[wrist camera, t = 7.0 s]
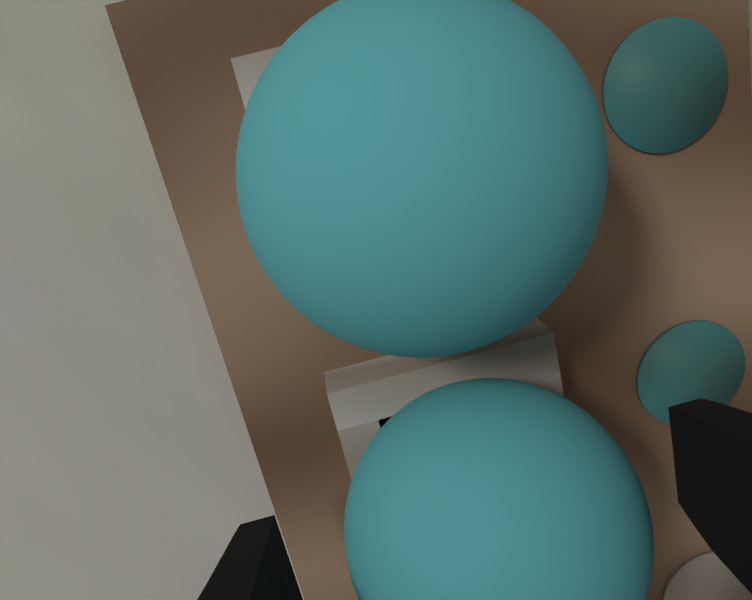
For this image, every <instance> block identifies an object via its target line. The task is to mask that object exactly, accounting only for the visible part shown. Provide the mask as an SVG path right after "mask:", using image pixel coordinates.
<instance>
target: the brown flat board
mask: <svg viewBox="0 0 752 600" xmlns="http://www.w3.org/2000/svg"><path fill="white" fill-rule="evenodd" d="M336 1H338V0H125V1H121V2H117V3H113V4H109V5H105V7H106V10H107V13H108V16H109V19H110V22H111V25H112V28H113V31H114V34H115V37H116V40H117V43H118V46H119V49H120V52H121V55H122V57H123V60H124V63H125V66H126V69H127V72H128V75H129V78H130V81H131V84H132V87H133V90H134V93H135V96H136V99H137V102H138V105H139V108H140V111H141V114H142V117H143V120H144V123H145V126H146V129H147V132H148V135H149V138H150V141H151V144H152V147H153V150H154V153H155V156H156V159H157V162H158V165H159V168H160V170H161V173H162V176H163V179H164V182H165V185H166V188H167V191H168V194H169V197H170V200H171V203H172V206H173V209H174V212H175V215H176V218H177V221H178V224H179V227H180V230H181V233H182V236H183V239H184V242H185V245H186V248H187V251H188V254H189V257H190V260H191V263H192V266H193V269H194V272H195V275H196V278H197V280H198V283H199V286H200V289H201V292H202V295H203V298H204V301H205V304H206V307H207V310H208V313H209V316H210V319H211V322H212V325H213V328H214V331H215V334H216V337H217V340H218V343H219V346H220V349H221V352H222V355H223V358H224V361H225V364H226V367H227V370H228V373H229V376H230V379H231V382H232V385H233V388H234V391H235V393H236V396H237V399H238V402H239V405H240V408H241V411H242V414H243V417H244V420H245V423H246V426H247V429H248V432H249V435H250V438H251V441H252V444H253V447H254V450H255V453H256V456H257V459H258V462H259V465H260V468H261V471H262V474H263V477H264V480H265V483H266V486H267V489H268V492H269V495H270V498H271V501H272V503H273V506H274V509H275V512H276V515H277V518H278V521H279V524H280V527H281V530H282V533H283V536H284V539H285V542H286V545H287V548H288V551H289V554H290V557H291V560H292V563H293V566H294V569H295V572H296V575H297V578H298V581H299V584H300V587H301V590H302V593H303V596H304V599H305V600H359V599H358V597H357V594H356V591H355V589H354V586H353V584H352V581H351V577H350V572H349V568H348V563H347V558H346V554H345V541H344V518H345V507H346V502H347V497H348V493H349V489H350V485H351V481H352V478H353V475H354V473H355V470H356V468H357V465H358V463H359V461H360V459H361V457H362V455H363V453H364V452H365V450H366V448H367V446H368V445H369V443H370V441H371V440H372V439H373V437H374V436H375V435H376V433H377V432H378V431H379V429H380V428H381V427H382V426H383V425H384V424H385V423H386V422H387V421H388V420H389V419H390V418H391V417H392V416H393V415H394V414H395V413H397V412H398V411H399V410H400V409H402V408H403V407H404V406H405V405H407V404H408V403H410V402H411V401H413V400H414V399H416V398H418V397H419V396H421V395H423V394H425V393H427V392H429V391H431V390H433V389H436V388H438V387H441V386H444V385H447V384H450V383H455V382H459V381H464V380H470V379H480V378H504V379H511V380H517V381H522V382H526V383H530V384H533V385H537V386H540V387H543V388H546V389H548V390H550V391H553V392H555V393H557V394H559V395H561V396H563V397H565V398H566V399H568V400H570V401H572V402H573V403H575V404H576V405H578V406H579V407H581V408H582V409H584V410H585V411H586V412H588V413H589V414H590V415H591V416H592V417H593V418H594V419H595V420H597V421H598V422H599V423H600V424H601V425H602V426H603V427H604V428H605V429H606V430H607V431H608V432H609V433H610V434H611V436H612V437H613V438H614V439H615V440H616V442H617V443H618V444H619V446H620V447H621V448H622V450H623V451H624V452H625V454H626V455H627V457H628V459H629V460H630V462H631V464H632V466H633V467H634V469H635V471H636V473H637V475H638V478H639V480H640V482H641V484H642V487H643V490H644V492H645V495H646V498H647V502H648V506H649V510H650V514H651V519H652V524H653V538H654V563H653V572H652V578H651V584H650V588H649V592H648V596H647V599H646V600H752V594H751V593H750V592H749V591H748V590H747V589H746V588H745V587H744V585H743V584H742V583H741V582H740V581H739V580H738V579H737V578H736V577H735V576H734V574H733V573H732V572H731V571H730V570H729V569H728V568H727V567H726V566H725V565H724V563H723V562H722V561H721V560H720V559H719V558H718V557H717V556H716V554H715V553H714V552H713V551H712V550H711V548H710V547H709V546H708V544H707V543H706V542H705V540H704V539H703V538H702V536H701V535H700V533H699V532H698V531H697V529H696V528H695V526H694V525H693V524H692V522H691V521H690V519H689V518H688V516H687V515H686V513H685V512H684V510H683V509H682V507H681V506H680V504H679V503H678V496H677V486H676V477H675V467H674V457H673V448H672V438H671V428H670V419H669V409H668V407H671V406H674V405H678V404H681V403H685V402H689V401H692V400H696V399H700V398H702V399H706V400H710V401H714V402H718V403H721V404H725V405H728V406H731V407H734V408H737V409H741V410H744V411H747V412H750V413H752V96H751V75H750V55H749V35H748V15H747V0H510V1H512V2H514V3H516V4H517V5H519V6H520V7H522V8H523V9H525V10H527V11H528V12H530V13H531V14H533V15H534V16H535V17H536V18H538V19H539V20H540V21H541V22H542V23H543V24H545V25H546V26H547V27H548V28H549V29H550V30H552V31H553V33H554V34H555V35H556V36H557V37H558V38H559V39H560V41H561V42H562V43H563V44H564V45H565V46H566V47H567V48H568V50H569V51H570V53H571V54H572V55H573V57H574V59H575V60H576V62H577V63H578V65H579V66H580V68H581V69H582V71H583V72H584V74H585V76H586V78H587V80H588V82H589V84H590V86H591V88H592V90H593V92H594V94H595V97H596V100H597V103H598V106H599V109H600V112H601V115H602V118H603V123H604V128H605V134H606V139H607V150H608V179H607V191H606V197H605V202H604V207H603V212H602V216H601V220H600V223H599V226H598V229H597V232H596V235H595V238H594V240H593V242H592V244H591V246H590V249H589V251H588V253H587V255H586V257H585V259H584V261H583V262H582V264H581V265H580V267H579V269H578V270H577V272H576V274H575V275H574V277H573V278H572V279H571V281H570V282H569V283H568V284H567V286H566V287H565V288H564V290H563V291H562V292H561V293H560V294H559V295H558V296H557V297H556V299H555V300H554V301H553V302H552V303H551V304H550V305H549V306H548V307H547V308H546V309H545V310H543V311H542V312H541V313H540V314H538V315H537V316H536V317H535V318H533V319H532V320H531V321H530V322H528V323H527V324H525V325H524V326H522V327H520V328H519V329H517V330H516V331H514V332H512V333H511V334H509V335H507V336H505V337H503V338H501V339H499V340H496V341H494V342H492V343H490V344H488V345H485V346H482V347H479V348H476V349H473V350H470V351H467V352H463V353H458V354H453V355H448V356H441V357H429V358H413V357H398V356H392V355H387V354H381V353H377V352H373V351H370V350H367V349H364V348H360V347H357V346H354V345H351V344H349V343H347V342H345V341H343V340H340V339H338V338H336V337H334V336H332V335H330V334H329V333H327V332H325V331H324V330H322V329H321V328H319V327H317V326H316V325H314V324H313V323H312V322H310V321H309V320H308V319H307V318H305V317H304V316H303V315H302V314H301V313H299V312H298V311H297V310H296V309H295V308H294V307H293V306H292V305H291V304H290V303H289V302H288V301H287V300H286V299H285V298H284V297H283V295H282V294H281V293H280V292H279V291H278V290H277V289H276V287H275V286H274V284H273V283H272V282H271V280H270V279H269V277H268V276H267V275H266V273H265V272H264V270H263V269H262V267H261V265H260V263H259V261H258V259H257V258H256V256H255V254H254V252H253V250H252V248H251V245H250V243H249V240H248V237H247V235H246V232H245V229H244V227H243V222H242V218H241V214H240V210H239V205H238V198H237V188H236V152H237V145H238V139H239V133H240V127H241V123H242V120H243V117H244V114H245V110H246V107H247V104H248V101H249V99H250V96H251V94H252V92H253V90H254V88H255V86H256V83H257V81H258V79H259V77H260V76H261V74H262V73H263V71H264V69H265V68H266V66H267V65H268V63H269V62H270V60H271V58H272V57H273V56H274V54H275V53H276V52H277V51H278V50H279V48H280V47H281V46H282V45H283V44H284V43H285V41H286V40H287V39H288V38H289V37H290V36H291V35H292V34H293V33H294V32H295V31H296V30H297V29H299V28H300V27H301V26H302V25H303V24H304V23H305V22H306V21H307V20H309V19H310V18H311V17H313V16H314V15H316V14H317V13H319V12H320V11H322V10H323V9H325V8H326V7H328V6H329V5H331V4H332V3H334V2H336Z"/></svg>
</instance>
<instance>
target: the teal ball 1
mask: <svg viewBox="0 0 752 600" xmlns="http://www.w3.org/2000/svg"><path fill="white" fill-rule="evenodd" d="M607 179H608V150H607V139H606V134H605V128H604V123H603V118H602V115H601V112H600V109H599V106H598V103H597V100H596V97H595V94H594V92H593V90H592V88H591V86H590V84H589V82H588V80H587V78H586V76H585V74H584V72H583V71H582V69H581V68H580V66H579V65H578V63H577V62H576V60H575V59H574V57H573V55H572V54H571V53H570V51H569V50H568V48H567V47H566V46H565V45H564V44H563V43H562V42H561V41H560V39H559V38H558V37H557V36H556V35H555V34H554V33H553V31H552V30H550V29H549V28H548V27H547V26H546V25H545V24H543V23H542V22H541V21H540V20H539V19H538V18H536V17H535V16H534V15H533V14H531V13H530V12H528V11H527V10H525V9H523V8H522V7H520V6H519V5H517V4H516V3H514V2H512V1H510V0H338V1H336V2H334V3H332V4H331V5H329V6H328V7H326V8H325V9H323V10H322V11H320V12H319V13H317V14H316V15H314V16H313V17H311V18H310V19H309V20H307V21H306V22H305V23H304V24H303V25H302V26H301V27H300V28H299V29H297V30H296V31H295V32H294V33H293V34H292V35H291V36H290V37H289V38H288V39H287V40H286V41H285V43H284V44H283V45H282V46H281V47H280V48H279V50H278V51H277V52H276V53H275V54H274V56H273V57H272V58H271V60H270V62H269V63H268V65H267V66H266V68H265V69H264V71H263V73H262V74H261V76H260V77H259V79H258V81H257V83H256V86H255V88H254V90H253V92H252V94H251V96H250V99H249V101H248V104H247V107H246V110H245V114H244V117H243V120H242V123H241V127H240V133H239V139H238V145H237V152H236V188H237V198H238V205H239V210H240V214H241V218H242V222H243V227H244V229H245V232H246V235H247V237H248V240H249V243H250V245H251V248H252V250H253V252H254V254H255V256H256V258H257V259H258V261H259V263H260V265H261V267H262V269H263V270H264V272H265V273H266V275H267V276H268V277H269V279H270V280H271V282H272V283H273V284H274V286H275V287H276V289H277V290H278V291H279V292H280V293H281V294H282V295H283V297H284V298H285V299H286V300H287V301H288V302H289V303H290V304H291V305H292V306H293V307H294V308H295V309H296V310H297V311H298V312H299V313H301V314H302V315H303V316H304V317H305V318H307V319H308V320H309V321H310V322H312V323H313V324H314V325H316V326H317V327H319V328H321V329H322V330H324V331H325V332H327V333H329V334H330V335H332V336H334V337H336V338H338V339H340V340H343V341H345V342H347V343H349V344H351V345H354V346H357V347H360V348H364V349H367V350H370V351H373V352H377V353H381V354H387V355H392V356H398V357H413V358H429V357H441V356H448V355H453V354H458V353H463V352H467V351H470V350H473V349H476V348H479V347H482V346H485V345H488V344H490V343H492V342H494V341H496V340H499V339H501V338H503V337H505V336H507V335H509V334H511V333H512V332H514V331H516V330H517V329H519V328H520V327H522V326H524V325H525V324H527V323H528V322H530V321H531V320H532V319H533V318H535V317H536V316H537V315H538V314H540V313H541V312H542V311H543V310H545V309H546V308H547V307H548V306H549V305H550V304H551V303H552V302H553V301H554V300H555V299H556V297H557V296H558V295H559V294H560V293H561V292H562V291H563V290H564V288H565V287H566V286H567V284H568V283H569V282H570V281H571V279H572V278H573V277H574V275H575V274H576V272H577V270H578V269H579V267H580V265H581V264H582V262H583V261H584V259H585V257H586V255H587V253H588V251H589V249H590V246H591V244H592V242H593V240H594V238H595V235H596V232H597V229H598V226H599V223H600V220H601V216H602V212H603V207H604V202H605V197H606V191H607Z"/></svg>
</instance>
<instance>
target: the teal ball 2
mask: <svg viewBox="0 0 752 600" xmlns="http://www.w3.org/2000/svg"><path fill="white" fill-rule="evenodd" d="M344 541H345V554H346V558H347V563H348V568H349V572H350V577H351V581H352V584H353V586H354V589H355V591H356V594H357V597H358V599H359V600H646V599H647V596H648V592H649V588H650V584H651V578H652V572H653V563H654V538H653V524H652V519H651V514H650V510H649V506H648V502H647V498H646V495H645V492H644V490H643V487H642V484H641V482H640V480H639V478H638V475H637V473H636V471H635V469H634V467H633V466H632V464H631V462H630V460H629V459H628V457H627V455H626V454H625V452H624V451H623V450H622V448H621V447H620V446H619V444H618V443H617V442H616V440H615V439H614V438H613V437H612V436H611V434H610V433H609V432H608V431H607V430H606V429H605V428H604V427H603V426H602V425H601V424H600V423H599V422H598V421H597V420H595V419H594V418H593V417H592V416H591V415H590V414H589V413H588V412H586V411H585V410H584V409H582V408H581V407H579V406H578V405H576V404H575V403H573V402H572V401H570V400H568V399H566V398H565V397H563V396H561V395H559V394H557V393H555V392H553V391H550V390H548V389H546V388H543V387H540V386H537V385H533V384H530V383H526V382H522V381H517V380H511V379H504V378H480V379H470V380H464V381H459V382H455V383H450V384H447V385H444V386H441V387H438V388H436V389H433V390H431V391H429V392H427V393H425V394H423V395H421V396H419V397H418V398H416V399H414V400H413V401H411V402H410V403H408V404H407V405H405V406H404V407H403V408H402V409H400V410H399V411H398V412H397V413H395V414H394V415H393V416H392V417H391V418H390V419H389V420H388V421H387V422H386V423H385V424H384V425H383V426H382V427H381V428H380V429H379V431H378V432H377V433H376V435H375V436H374V437H373V439H372V440H371V441H370V443H369V445H368V446H367V448H366V450H365V452H364V453H363V455H362V457H361V459H360V461H359V463H358V465H357V468H356V470H355V473H354V475H353V478H352V481H351V485H350V489H349V493H348V497H347V502H346V507H345V518H344Z"/></svg>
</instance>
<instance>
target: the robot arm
mask: <svg viewBox="0 0 752 600" xmlns="http://www.w3.org/2000/svg"><path fill="white" fill-rule="evenodd" d="M668 409H669V419H670V428H671V438H672V448H673V457H674V467H675V477H676V486H677V496H678V503H679V504H680V506H681V507H682V509H683V510H684V512H685V513H686V515H687V516H688V518H689V519H690V521H691V522H692V524H693V525H694V526H695V528H696V529H697V531H698V532H699V533H700V535H701V536H702V538H703V539H704V540H705V542H706V543H707V544H708V546H709V547H710V548H711V550H712V551H713V552H714V553H715V554H716V556H717V557H718V558H719V559H720V560H721V561H722V562H723V563H724V565H725V566H726V567H727V568H728V569H729V570H730V571H731V572H732V573H733V574H734V576H735V577H736V578H737V579H738V580H739V581H740V582H741V583H742V584H743V585H744V587H745V588H746V589H747V590H748V591H749V592H750V593H751V594H752V413H750V412H747V411H744V410H741V409H737V408H734V407H731V406H728V405H725V404H721V403H718V402H714V401H710V400H706V399H702V398H700V399H696V400H692V401H689V402H685V403H681V404H678V405H674V406H671V407H668ZM197 600H303V599H302V596H301V593H300V590H299V587H298V584H297V581H296V578H295V575H294V572H293V569H292V566H291V563H290V560H289V557H288V554H287V551H286V548H285V545H284V543H283V540H282V537H281V534H280V531H279V528H278V525H277V522H276V519H275V516H274V515H273V516H270V517H266V518H263V519H259V520H255V521H252V522H248V523H244V524H241V525H240V526H239V527H238V529H237V531H236V532H235V534H234V536H233V537H232V539H231V541H230V543H229V545H228V546H227V548H226V550H225V552H224V554H223V556H222V557H221V559H220V561H219V563H218V565H217V566H216V568H215V570H214V572H213V574H212V575H211V577H210V579H209V581H208V582H207V584H206V586H205V588H204V589H203V591H202V593H201V594H200V596H199V598H198V599H197Z"/></svg>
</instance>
